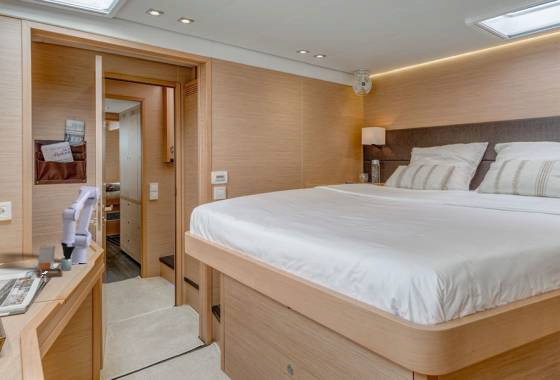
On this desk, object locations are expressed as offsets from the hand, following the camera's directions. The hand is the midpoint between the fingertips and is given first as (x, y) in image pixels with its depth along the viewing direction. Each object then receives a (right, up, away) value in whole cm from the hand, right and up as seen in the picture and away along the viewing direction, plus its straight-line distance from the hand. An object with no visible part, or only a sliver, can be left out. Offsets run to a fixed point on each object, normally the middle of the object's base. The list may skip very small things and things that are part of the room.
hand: (66, 257), depth 188 cm
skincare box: (-10, -6, -2) cm, 12 cm away
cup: (-1, -6, 0) cm, 7 cm away
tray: (-2, -7, -10) cm, 12 cm away
